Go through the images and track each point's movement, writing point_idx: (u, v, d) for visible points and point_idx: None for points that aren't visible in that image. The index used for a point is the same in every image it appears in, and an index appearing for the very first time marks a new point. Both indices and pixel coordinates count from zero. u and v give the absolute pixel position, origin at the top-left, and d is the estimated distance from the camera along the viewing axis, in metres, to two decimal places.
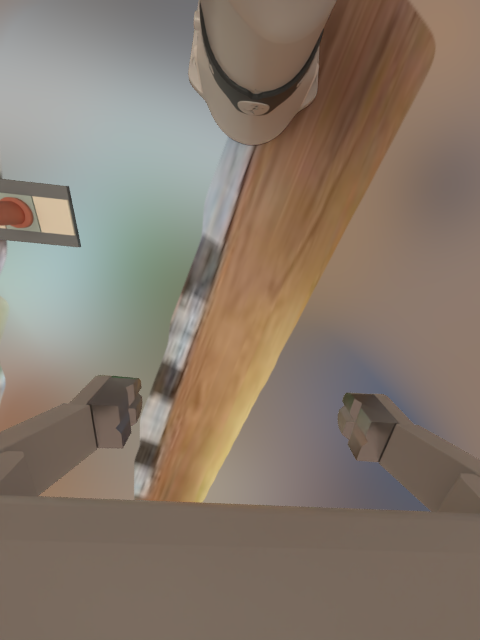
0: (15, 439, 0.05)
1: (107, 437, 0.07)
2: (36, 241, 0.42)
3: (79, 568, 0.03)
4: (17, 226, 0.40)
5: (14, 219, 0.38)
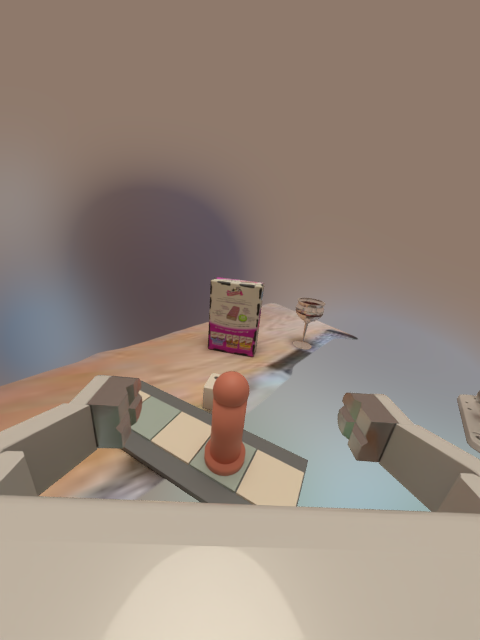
0: (15, 439, 0.05)
1: (107, 437, 0.07)
2: (212, 502, 0.23)
3: (79, 568, 0.03)
4: (214, 464, 0.25)
5: (236, 448, 0.25)
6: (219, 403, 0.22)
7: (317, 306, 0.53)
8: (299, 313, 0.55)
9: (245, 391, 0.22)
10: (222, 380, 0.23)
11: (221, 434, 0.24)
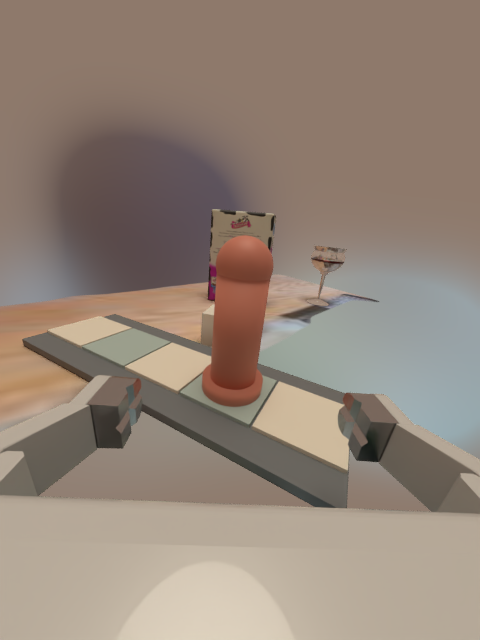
0: (15, 439, 0.05)
1: (107, 437, 0.07)
2: (215, 437, 0.14)
3: (79, 568, 0.03)
4: (217, 389, 0.16)
5: (251, 363, 0.16)
6: (226, 276, 0.14)
7: (338, 250, 0.45)
8: (316, 260, 0.47)
9: (268, 257, 0.14)
10: (232, 240, 0.14)
11: (229, 334, 0.15)
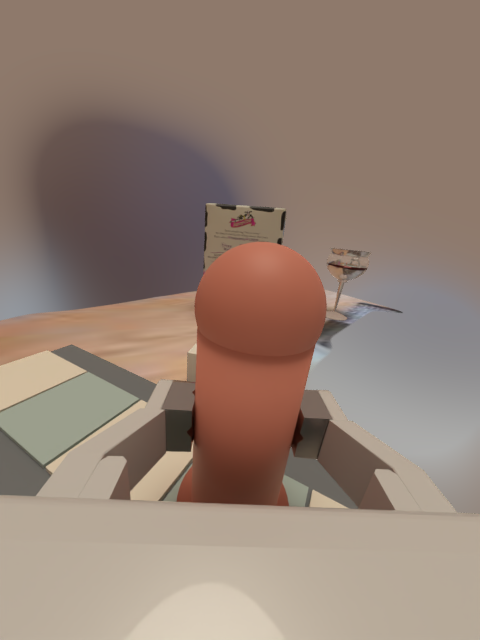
0: (110, 444, 0.06)
1: (177, 441, 0.07)
2: None
3: (79, 568, 0.03)
4: None
5: (270, 502, 0.08)
6: (218, 344, 0.06)
7: (362, 253, 0.36)
8: (333, 266, 0.39)
9: (320, 296, 0.06)
10: (232, 254, 0.06)
11: (225, 462, 0.07)
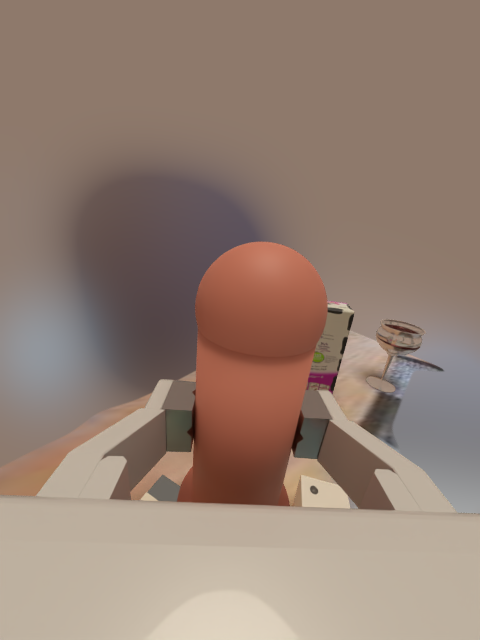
0: (110, 444, 0.06)
1: (177, 441, 0.07)
2: None
3: (79, 568, 0.03)
4: None
5: (272, 503, 0.08)
6: (219, 344, 0.06)
7: (417, 335, 0.37)
8: (386, 343, 0.39)
9: (322, 296, 0.06)
10: (233, 255, 0.06)
11: (225, 463, 0.07)
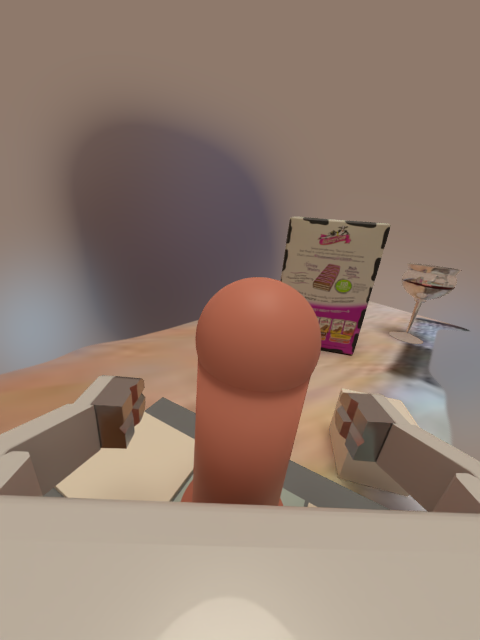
0: (20, 439, 0.05)
1: (111, 437, 0.07)
2: None
3: (79, 568, 0.03)
4: None
5: None
6: (218, 379, 0.06)
7: (453, 271, 0.32)
8: (415, 285, 0.34)
9: (315, 334, 0.06)
10: (231, 293, 0.06)
11: (224, 486, 0.07)
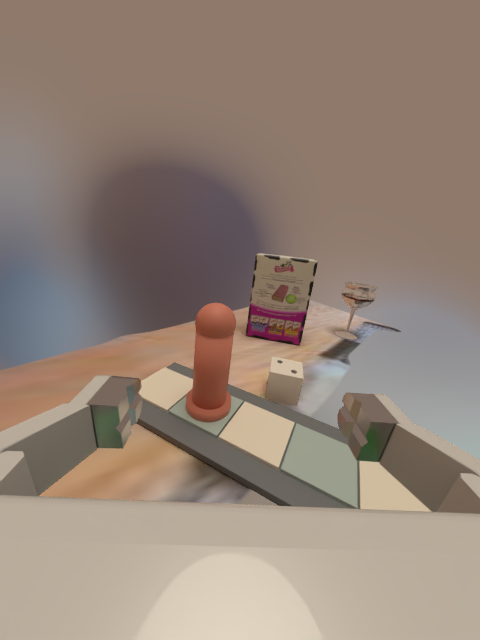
0: (15, 439, 0.05)
1: (107, 437, 0.07)
2: None
3: (79, 568, 0.03)
4: (196, 409, 0.22)
5: (220, 390, 0.22)
6: (201, 333, 0.20)
7: (370, 289, 0.47)
8: (348, 298, 0.49)
9: (230, 320, 0.20)
10: (206, 308, 0.20)
11: (204, 371, 0.21)
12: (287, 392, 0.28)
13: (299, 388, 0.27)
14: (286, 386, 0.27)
